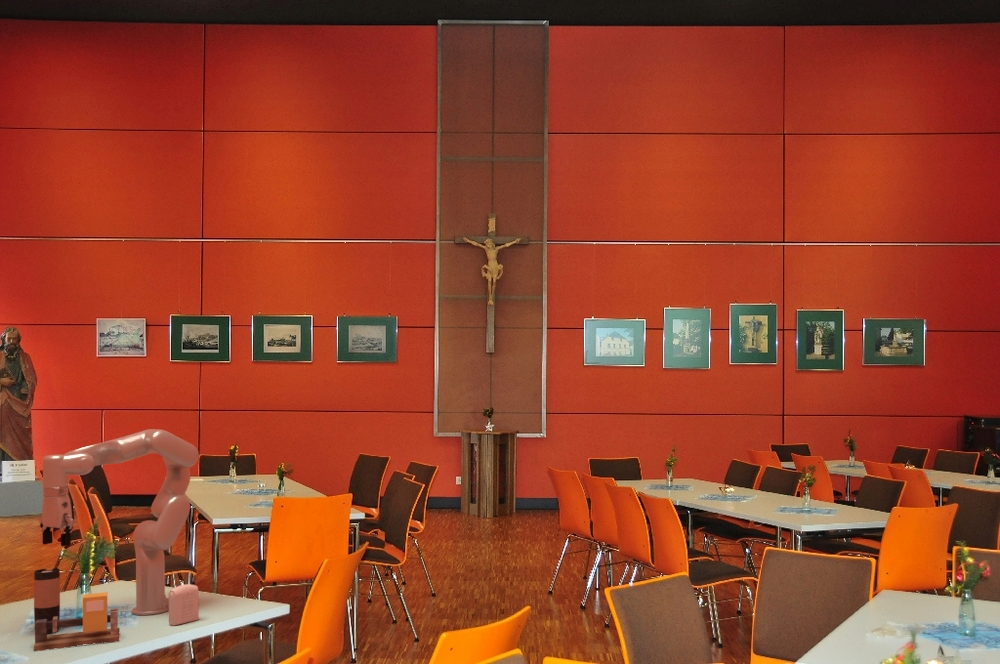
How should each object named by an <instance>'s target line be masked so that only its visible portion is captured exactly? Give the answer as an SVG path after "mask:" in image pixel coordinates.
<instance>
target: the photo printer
mask: <svg viewBox="0 0 1000 664" xmlns="http://www.w3.org/2000/svg"><path fill="white" fill-rule="evenodd" d="M168 598H169V610H168V624H169V625H170V626H177V625H182V624H186V623H190V622H193V621H198V620H199V609H200V608H199V599H200V598H199V587H198V586H197V585H196V584H190V583H189V584H181V585H178V586H176V587H174V588H172V589H171V590H169V592H168Z"/></svg>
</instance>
